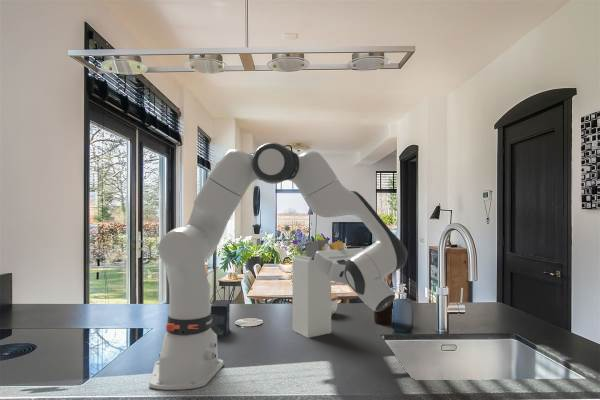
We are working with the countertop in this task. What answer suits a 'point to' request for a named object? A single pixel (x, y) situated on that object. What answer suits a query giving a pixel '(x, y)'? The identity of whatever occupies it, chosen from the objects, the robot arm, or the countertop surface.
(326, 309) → the tall grey pillar
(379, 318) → the coffee mug
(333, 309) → the lidded jar
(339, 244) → the grey and orange bar
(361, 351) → the countertop surface
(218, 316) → the box
